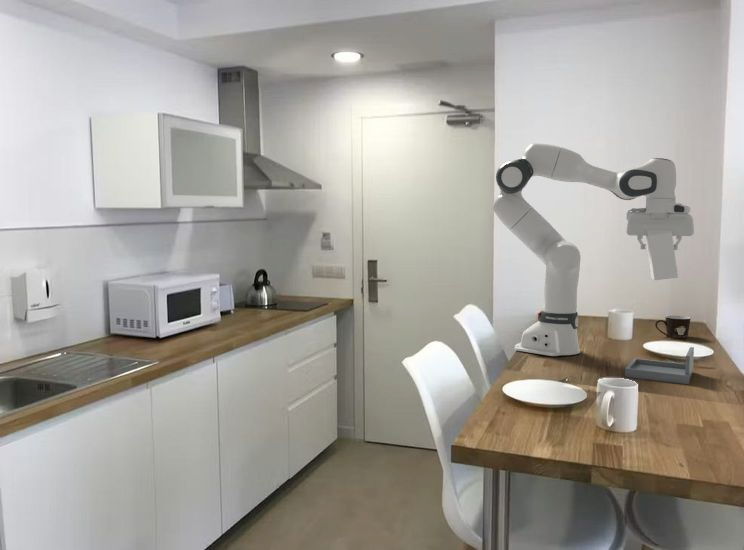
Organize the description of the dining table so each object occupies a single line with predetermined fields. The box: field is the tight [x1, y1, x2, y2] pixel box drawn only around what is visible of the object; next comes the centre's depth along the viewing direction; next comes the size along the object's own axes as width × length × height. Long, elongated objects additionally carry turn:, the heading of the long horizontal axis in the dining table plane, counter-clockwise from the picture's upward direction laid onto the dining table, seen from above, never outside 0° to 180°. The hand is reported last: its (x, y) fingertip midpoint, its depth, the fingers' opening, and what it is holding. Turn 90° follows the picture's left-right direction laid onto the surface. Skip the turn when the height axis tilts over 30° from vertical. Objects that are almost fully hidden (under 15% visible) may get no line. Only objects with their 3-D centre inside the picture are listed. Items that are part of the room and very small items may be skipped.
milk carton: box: [645, 229, 679, 281], centre depth 202 cm, size 7×7×19 cm
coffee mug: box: [655, 314, 691, 340], centre depth 232 cm, size 12×9×10 cm
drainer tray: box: [624, 346, 695, 385], centre depth 184 cm, size 17×16×8 cm
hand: (658, 249), depth 202 cm, fingers closed on milk carton, 8 cm apart
